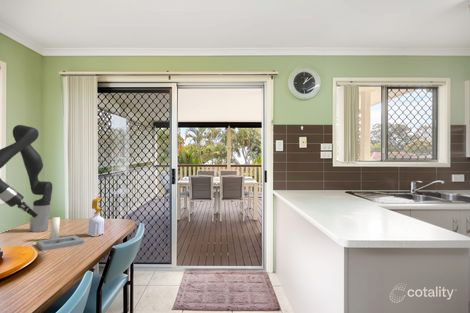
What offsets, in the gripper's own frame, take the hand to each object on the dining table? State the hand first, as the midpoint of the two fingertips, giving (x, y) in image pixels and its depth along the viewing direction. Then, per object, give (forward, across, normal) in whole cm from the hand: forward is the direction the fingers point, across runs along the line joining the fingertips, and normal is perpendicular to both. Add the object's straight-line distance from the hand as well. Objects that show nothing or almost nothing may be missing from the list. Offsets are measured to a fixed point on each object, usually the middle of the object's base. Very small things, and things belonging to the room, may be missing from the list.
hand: (34, 215), depth 150 cm
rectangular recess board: (+19, -13, +4) cm, 23 cm away
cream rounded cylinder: (+19, 0, +4) cm, 19 cm away
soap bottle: (+34, -4, -12) cm, 37 cm away
